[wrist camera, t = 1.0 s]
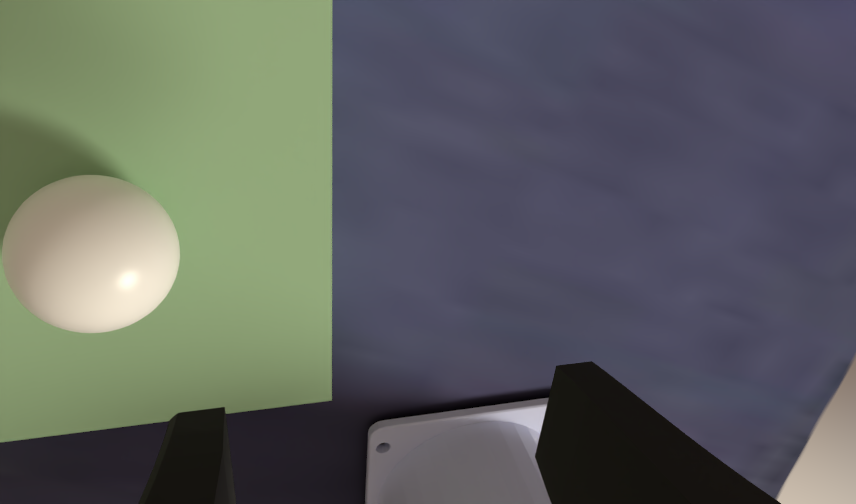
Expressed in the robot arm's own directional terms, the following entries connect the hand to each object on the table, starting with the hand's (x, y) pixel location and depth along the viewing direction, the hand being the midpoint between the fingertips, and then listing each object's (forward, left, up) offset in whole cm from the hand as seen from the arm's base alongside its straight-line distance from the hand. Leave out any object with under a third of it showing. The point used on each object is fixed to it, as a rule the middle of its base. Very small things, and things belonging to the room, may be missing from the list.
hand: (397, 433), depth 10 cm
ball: (0, +5, -7) cm, 9 cm away
